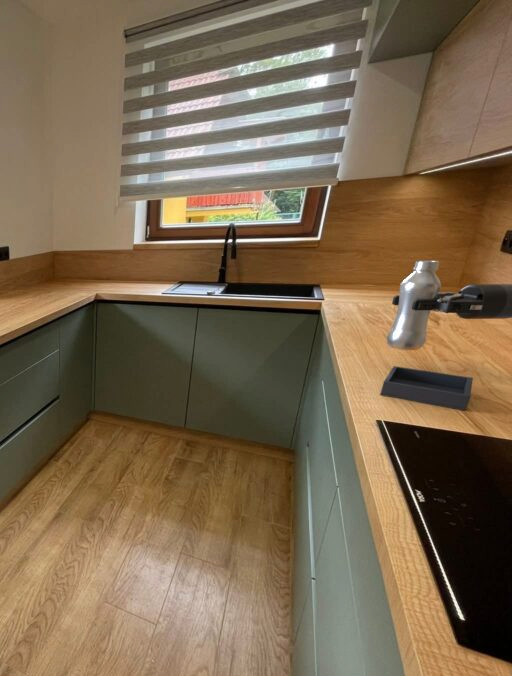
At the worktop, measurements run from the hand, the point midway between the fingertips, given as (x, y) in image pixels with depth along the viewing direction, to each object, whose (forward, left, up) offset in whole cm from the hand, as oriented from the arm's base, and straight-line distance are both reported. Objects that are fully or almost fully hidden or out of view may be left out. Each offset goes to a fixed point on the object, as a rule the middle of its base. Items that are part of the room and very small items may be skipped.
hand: (403, 302), depth 97 cm
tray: (-12, +8, -16) cm, 22 cm away
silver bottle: (-1, -2, -11) cm, 11 cm away
